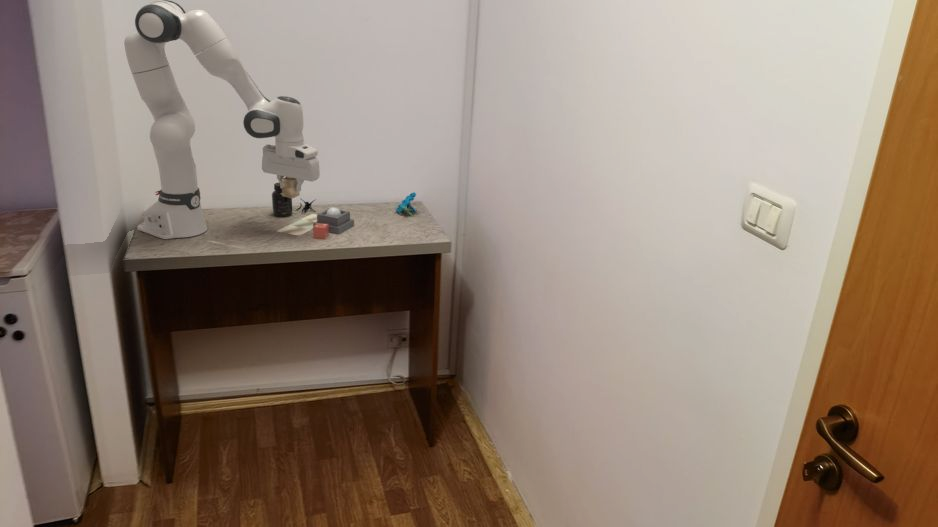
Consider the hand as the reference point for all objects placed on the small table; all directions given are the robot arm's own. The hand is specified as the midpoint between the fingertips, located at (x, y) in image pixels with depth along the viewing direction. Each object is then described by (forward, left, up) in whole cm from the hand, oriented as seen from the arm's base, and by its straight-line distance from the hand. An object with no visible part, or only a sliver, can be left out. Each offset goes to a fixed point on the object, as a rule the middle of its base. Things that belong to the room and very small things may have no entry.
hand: (290, 189), depth 235 cm
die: (+11, 0, -14) cm, 18 cm away
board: (+5, +7, -15) cm, 18 cm away
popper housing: (+10, +9, -15) cm, 20 cm away
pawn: (0, 0, -2) cm, 2 cm away
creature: (-8, +19, -15) cm, 26 cm away
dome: (+10, +9, -12) cm, 18 cm away
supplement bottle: (-13, +12, -15) cm, 23 cm away
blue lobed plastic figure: (+23, +38, -15) cm, 47 cm away
